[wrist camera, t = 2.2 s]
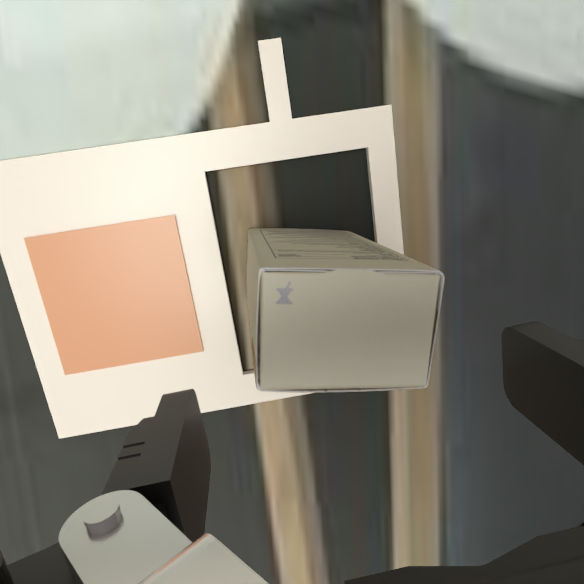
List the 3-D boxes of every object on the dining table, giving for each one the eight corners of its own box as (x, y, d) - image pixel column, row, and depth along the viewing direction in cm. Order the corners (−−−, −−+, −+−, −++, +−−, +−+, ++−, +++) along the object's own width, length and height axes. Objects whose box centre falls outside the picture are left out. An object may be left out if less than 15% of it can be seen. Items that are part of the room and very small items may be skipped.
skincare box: (245, 299, 26) (244, 396, 15) (247, 225, 25) (246, 265, 14) (352, 301, 27) (432, 395, 15) (357, 229, 26) (449, 270, 14)
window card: (381, 25, 24) (385, 20, 23) (411, 371, 29) (415, 376, 28) (-48, 82, 22) (-58, 79, 22) (62, 434, 27) (57, 440, 27)
